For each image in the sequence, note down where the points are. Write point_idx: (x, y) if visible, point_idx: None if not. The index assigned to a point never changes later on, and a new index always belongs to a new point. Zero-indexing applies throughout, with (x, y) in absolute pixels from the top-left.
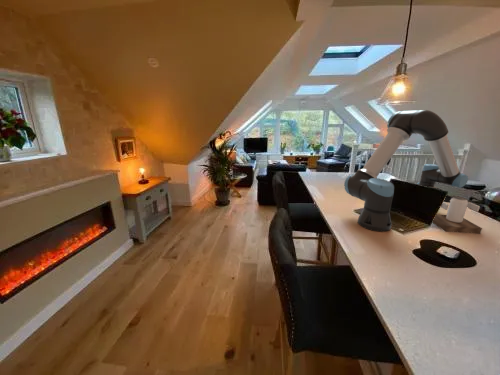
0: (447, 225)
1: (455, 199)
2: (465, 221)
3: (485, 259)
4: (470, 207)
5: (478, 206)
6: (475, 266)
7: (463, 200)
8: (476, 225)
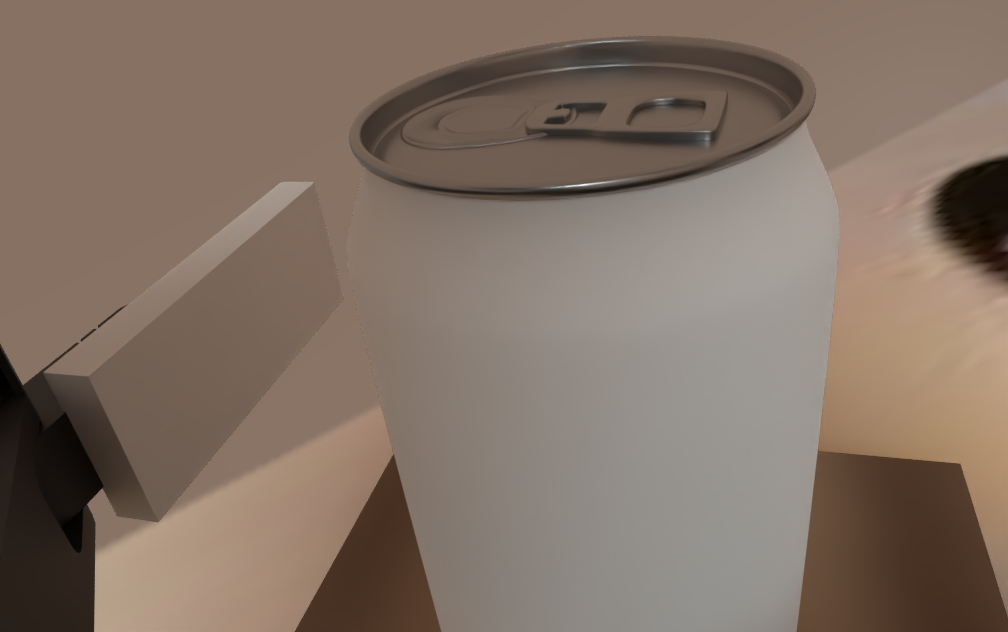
0: (936, 474)
1: (790, 102)
2: (394, 623)
3: (846, 199)
4: (236, 390)
5: (306, 185)
6: (982, 157)
7: (623, 58)
8: (386, 482)
